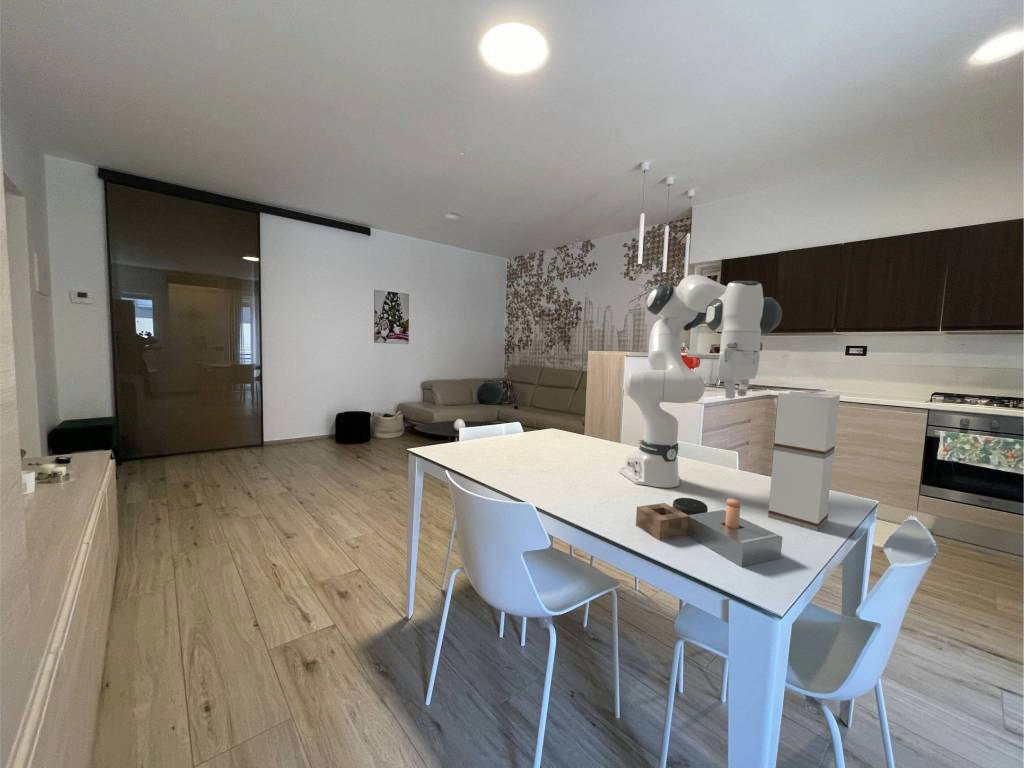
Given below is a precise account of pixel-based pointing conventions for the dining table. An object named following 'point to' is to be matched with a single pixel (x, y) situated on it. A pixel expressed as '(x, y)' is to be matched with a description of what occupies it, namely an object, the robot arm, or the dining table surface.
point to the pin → (732, 514)
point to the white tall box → (803, 458)
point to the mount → (662, 521)
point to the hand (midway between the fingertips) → (736, 397)
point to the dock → (734, 538)
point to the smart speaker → (690, 506)
